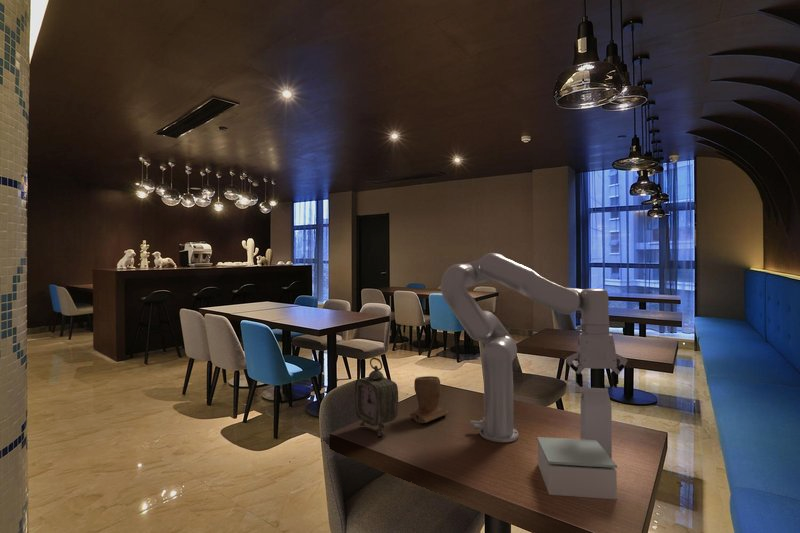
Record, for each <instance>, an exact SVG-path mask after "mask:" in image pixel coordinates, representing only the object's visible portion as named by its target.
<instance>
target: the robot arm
mask: <svg viewBox="0 0 800 533" xmlns="http://www.w3.org/2000/svg"><path fill="white" fill-rule="evenodd" d="M489 281H493V282H496V283H498V284H499V285H503V286H505V287H506V288H509V289H511V290H513V291H515V292H517V293H519V294H521V295H522V296H524V297H527V298H529V299H531V300H532V301H534V302H536V303H538V304H540V305H542V306H544V307H546V308H549V309H550V310H552V311H555V312H557V313H559V314H563V315H572V314H574V313H575V312H577V311H581V312H580V313H581V323H580V325H577V326H576V330H577V331H580V333H579V337H578V343H577V352H575V353H573V354H571V355H569V356H567V357H565V360H566V362H567V364H568V366H569V367H570V368H571V369H572V370H573V371H574V372H575V382H576V384H577V385H578V387H580V388H584V384H583V383H584V380H583V376H584V375H583V373H582V372H583V370H584V369H593V370H594V369H597V370H598V369H602V370H603V369H606V370H607V369H609V370H611V371H610V385H611V386H612V387H614V388H616V389H617V388H618V385H619V383H620V382H619V374H620V373H621V372H622V371H623V370H624V369H625V366H626V365H627V363H628V359H627V358H626V357H624V356H622V355H620V354H618V353H617V351H616V344H615V339H614V336H613V334H612V333H610V315H609V314H610V311H609V307H610V306H609V304H610V303H609V292H608V290H606V289H604V288H584V289H582V288H573V287H564V286H562V285H559V284H557V283H555V282H553V281H550V280H548V279H546V278H545V277H543V276H541V275H540V274H538V273H537V272H536V271H535V270H534V269H532V268H530V267H528V266H525V265H523V264H520V263H518V262H515V261H514V260H512V259H509V258H506V257H505V256H504V255H503V254H500V253H496V252H489V253H485V254H484V255H483V256H482V257H481V258H479V259H476V260H473V261H470V262H467V263H455V264H452V265H451V266H449V267H447V269H446V270H445V271H444V273H443V275H442V277H441V281H440V291H441V292H440V293H441V295H442V297H443V299H444V301H445V303H446V304H447V306H448V307H449V309H450V311H452V313H453V314H454V316H455V317H456V319H457V321H458V322H459V324H460V325H461V327H462V328H463V329H464V331H465V332H466V334H467V335H468V336H469V337H470V339H472V340H473V341H477V342H482V343H483V344H484V346H485V347H484V348H483V351H482V355H481V362H482V364H481V365H482V370H483V371H482V372H483V412H484V413H483V417H482V419H480V420H470V427H473V428H474V430H478V429H479V435H480V436H481V437H482V438H483V439H484V440H488V441H490V442H494V443H510V442H511V443H512V442H514V441H517V440H518V439H519V436H520V435H519V434H520V433H519V431H518V430H517V429H516V428H514V424H515V423H514V418H515V417H514V373H513V372H514V371H513V361H514V359H516V356H517V354H518V348H517V344H516V342H515V340H514V339H513V337H512V336H511V334H510V333H509V331H507V329H506V328H505V327H504V325H503V323H502V322H501V320H499V318H498V316H496V315H495V314H494V313H492V312H490V311H489V310H483V309H482V308H481V307H480V306H479V304H478V303H477V302H476V300H475V299H474V297H473V296H472V295H471V294H470V293H469V292H468V290H467V288H471V287H473V286H476V285H479V284H483V283H485V282H489ZM576 359H577V364H576V365H575V364H574V362H573V361H574V360H576ZM617 360H619V363H617Z"/></svg>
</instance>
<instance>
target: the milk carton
mask: <svg viewBox="0 0 800 533" xmlns="http://www.w3.org/2000/svg"><path fill="white" fill-rule="evenodd" d="M579 400H580V404H579V405H580V408H579V409H580V439H584V440H597V442H598V443H599V444H600V445H601V447H602V448H603V449H604V450H605V451H606V453H607V454H608V455H609V456H610V457H612V456H613V446H612V445H613V442H612V441H613V437H612V436H613V435H612V432H613V431H612V424H613V423H612V422H613V421H612V418H613V417H612V416H613V415H612V414H613V413H612V412H613V411H612V402H611V399H610V395H609V388H603V387H601V388H600V387H599V388H598V387H597V388H596V387H582V392H581V395H580V399H579Z"/></svg>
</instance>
